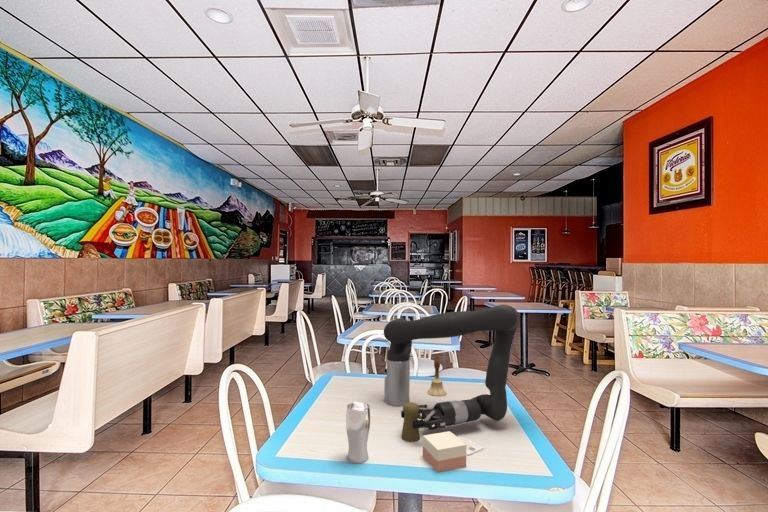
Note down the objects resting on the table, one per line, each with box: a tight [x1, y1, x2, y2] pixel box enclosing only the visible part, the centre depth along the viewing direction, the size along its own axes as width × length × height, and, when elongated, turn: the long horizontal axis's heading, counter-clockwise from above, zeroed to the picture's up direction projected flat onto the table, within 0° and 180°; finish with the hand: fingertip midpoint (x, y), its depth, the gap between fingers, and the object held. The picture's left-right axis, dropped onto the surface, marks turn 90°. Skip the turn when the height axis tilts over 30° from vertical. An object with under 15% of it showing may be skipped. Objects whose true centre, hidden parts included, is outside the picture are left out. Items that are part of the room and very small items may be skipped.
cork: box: [400, 401, 421, 443], centre depth 125 cm, size 6×6×11 cm
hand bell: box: [426, 355, 447, 397], centre depth 167 cm, size 8×8×16 cm
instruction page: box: [457, 435, 485, 457], centre depth 120 cm, size 10×7×1 cm
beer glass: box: [345, 401, 371, 465], centre depth 111 cm, size 7×7×15 cm
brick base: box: [422, 430, 467, 473], centre depth 110 cm, size 9×9×6 cm
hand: (406, 419), depth 124 cm, fingers open, 8 cm apart
